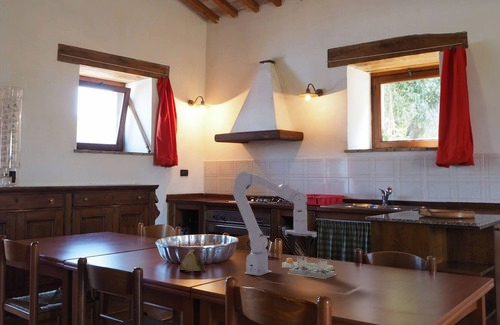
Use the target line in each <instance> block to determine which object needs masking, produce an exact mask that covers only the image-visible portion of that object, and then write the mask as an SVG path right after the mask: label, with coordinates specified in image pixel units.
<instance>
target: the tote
mask: <svg viewBox="0 0 500 325" xmlns="http://www.w3.org/2000/svg"><path fill="white" fill-rule="evenodd" d="M295 267H297V264H295V265H294V267H293V268H295ZM307 268H313V271H314V270H317V263H315V262H313V263H312V262H307ZM327 270H329V271H333V270H334V265H330V264H327Z"/></svg>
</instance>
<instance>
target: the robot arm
mask: <svg viewBox="0 0 500 325" xmlns="http://www.w3.org/2000/svg"><path fill="white" fill-rule="evenodd" d="M252 185H260V186H262V187H265V188H267V189H269V190H271V191H273V192H275V193H276V196H277V197H279V198H282V199H284V200H286V201H287V202H289V203H293V229H285V230H284V235H285V239H286V241H287V243H288V246H289V249H290V252H291V253H295V252H296V240H297V236H298V237H304V241H305V249H306V250H305V251H306V252H305V253H306V255H311V253H312V248H313V245H314V243H315V241H316V239H317V237H318V236H317V233H318V232H317V231H313V230H312V231H310V230H308V209H307V206H308V205H307V202H308V196H307V195H306V193H305V192H303V191H300V190H299V189H297V188H296V189H295V188H294V187H291V186H290V184H287V183H285V184H284V183H281V184H278V183H276V182H275V181H272V180H270V179H268V178H265V177H264V176H262V175H259V174H256V173H252V172H250V171H244V170H243V171H240V172H239V173H238V174H237V175H236V177H235V178H234V187H233V194H232V195H233V198H234V200H235V202H236V205H237V208H238V210H239V212H240V215H241V217H242V220H243V222H244V224H245V227H246V230H247V231H248V238H249V239H248V240H250V241H249V242H250V245H249V247H251V249H250V253H249V254H247V255H246V260H245V272H244V275H245V274H247V275H254V276H259V277H260V276H262V275H266V274H268V273H272V272H273V271H272V270H269V264H268V261H269V258H268V257H269V250H268V251H267V249H266V247H267V245H268V240H267V238H266V237H265V236H266V235H264V233H263V231H262V230H261V229H260V227H259V226H260V225H259V224H258V222H257V219H256V217H255V215H254V212H253V210H252V207H251V205H250V202H249V200H248V198H247V195H246V194H247V193H248V190H249V188H250V187H251V186H252Z"/></svg>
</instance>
